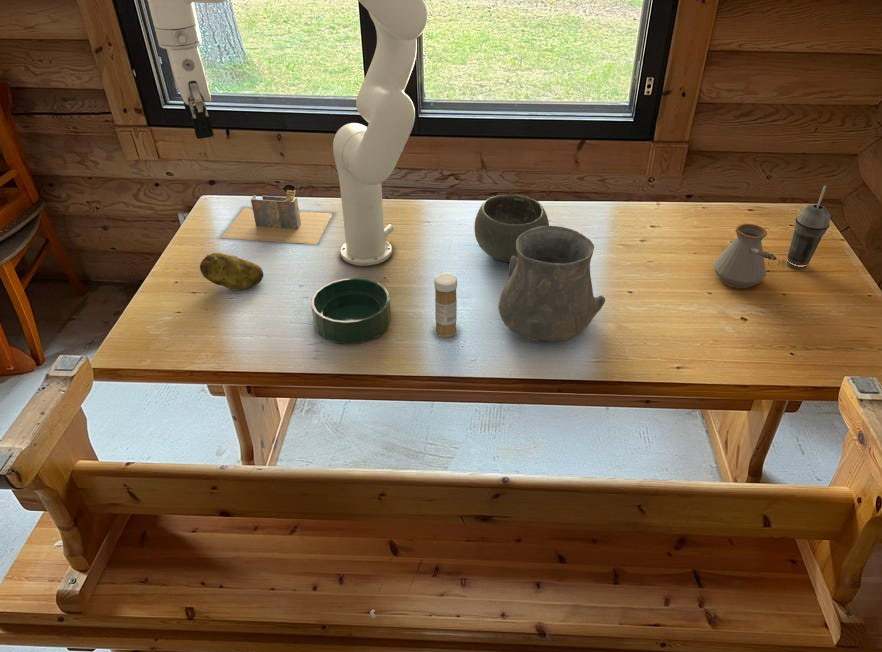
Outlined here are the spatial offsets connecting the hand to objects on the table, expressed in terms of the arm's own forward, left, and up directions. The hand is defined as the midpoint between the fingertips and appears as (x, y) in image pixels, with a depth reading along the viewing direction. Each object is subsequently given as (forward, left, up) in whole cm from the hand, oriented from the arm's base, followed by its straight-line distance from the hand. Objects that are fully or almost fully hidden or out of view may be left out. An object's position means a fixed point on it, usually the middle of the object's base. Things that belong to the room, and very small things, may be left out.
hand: (200, 128), depth 135 cm
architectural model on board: (-27, -11, -37) cm, 47 cm away
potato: (0, -1, -37) cm, 37 cm away
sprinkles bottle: (-9, +50, -37) cm, 63 cm away
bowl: (-44, +48, -37) cm, 75 cm away
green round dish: (-2, +31, -37) cm, 49 cm away
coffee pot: (-56, +101, -37) cm, 122 cm away
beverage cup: (-74, +110, -37) cm, 138 cm away
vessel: (-22, +68, -37) cm, 81 cm away
